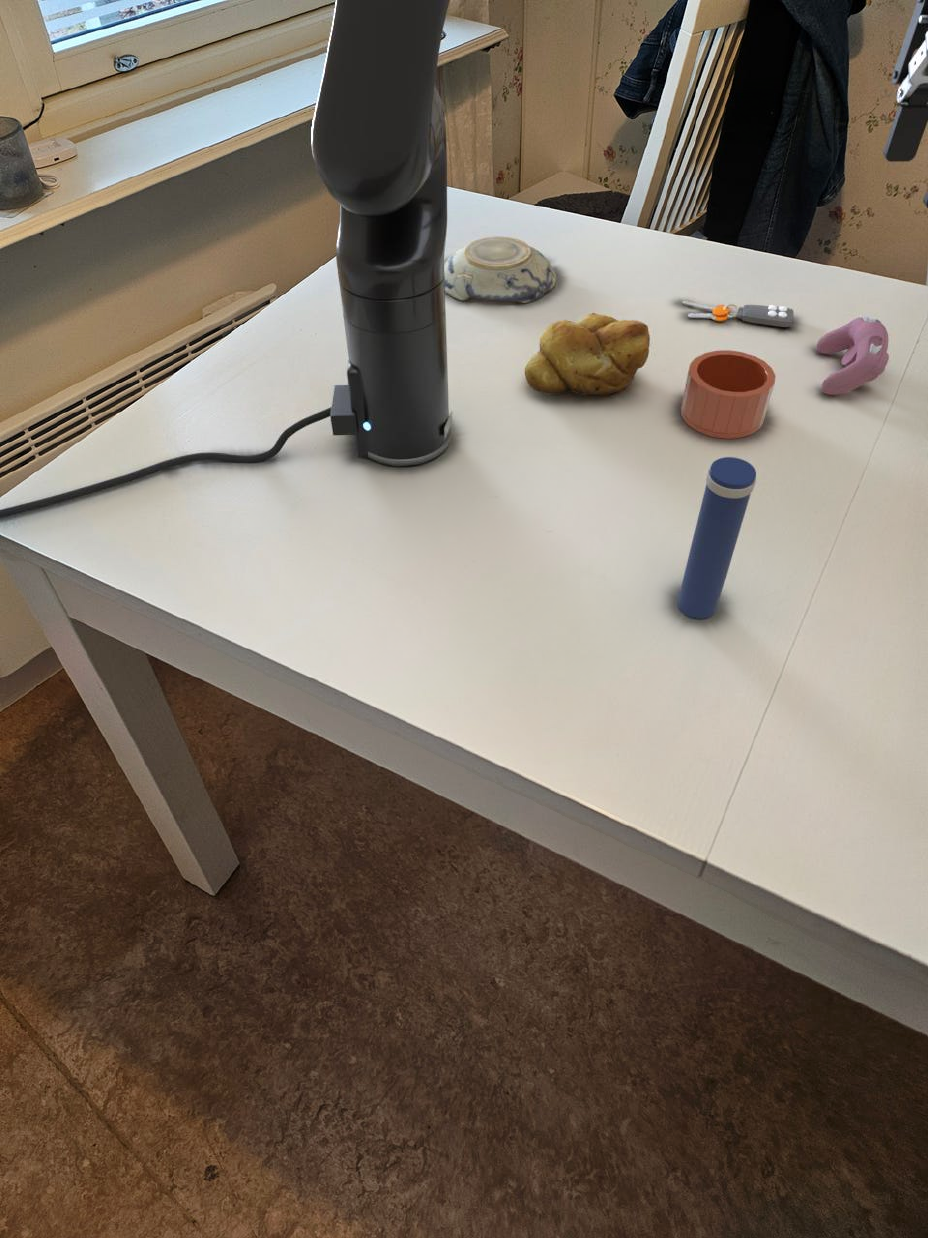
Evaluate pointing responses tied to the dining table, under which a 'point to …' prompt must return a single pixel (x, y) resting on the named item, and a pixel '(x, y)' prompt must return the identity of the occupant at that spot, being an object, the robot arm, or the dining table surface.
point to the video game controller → (855, 354)
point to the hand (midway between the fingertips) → (917, 182)
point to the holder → (727, 394)
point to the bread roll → (588, 356)
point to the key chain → (748, 314)
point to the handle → (715, 535)
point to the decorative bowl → (498, 271)
